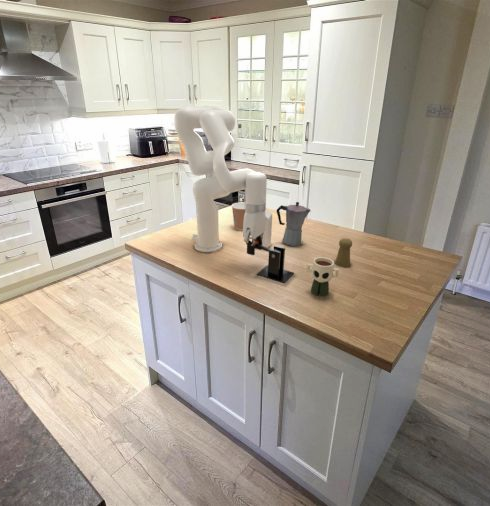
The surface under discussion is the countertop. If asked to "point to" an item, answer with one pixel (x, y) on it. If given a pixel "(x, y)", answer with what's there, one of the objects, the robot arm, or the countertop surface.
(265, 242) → the milk carton
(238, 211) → the coffee cup
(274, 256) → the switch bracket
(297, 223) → the moka pot
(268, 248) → the switch lever
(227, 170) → the robot arm
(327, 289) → the character mug
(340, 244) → the olive pepper mill
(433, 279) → the countertop surface
